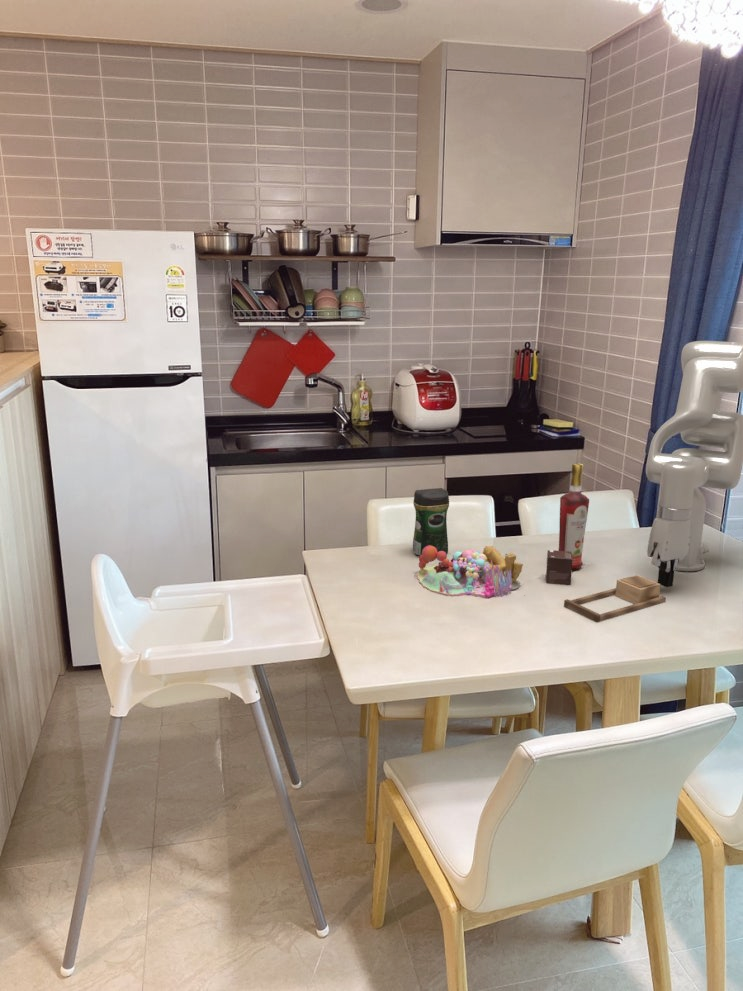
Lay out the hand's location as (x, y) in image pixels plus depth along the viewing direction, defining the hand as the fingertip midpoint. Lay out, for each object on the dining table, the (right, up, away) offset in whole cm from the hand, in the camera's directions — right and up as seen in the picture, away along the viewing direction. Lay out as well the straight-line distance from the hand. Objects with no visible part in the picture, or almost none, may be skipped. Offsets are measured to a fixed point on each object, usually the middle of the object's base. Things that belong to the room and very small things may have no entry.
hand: (664, 585), depth 187 cm
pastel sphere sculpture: (-47, 0, +6) cm, 48 cm away
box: (-25, 0, +6) cm, 25 cm away
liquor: (-19, +3, +16) cm, 25 cm away
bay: (-15, -4, -8) cm, 17 cm away
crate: (-8, -2, -4) cm, 10 cm away
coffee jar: (-56, +6, +25) cm, 61 cm away
